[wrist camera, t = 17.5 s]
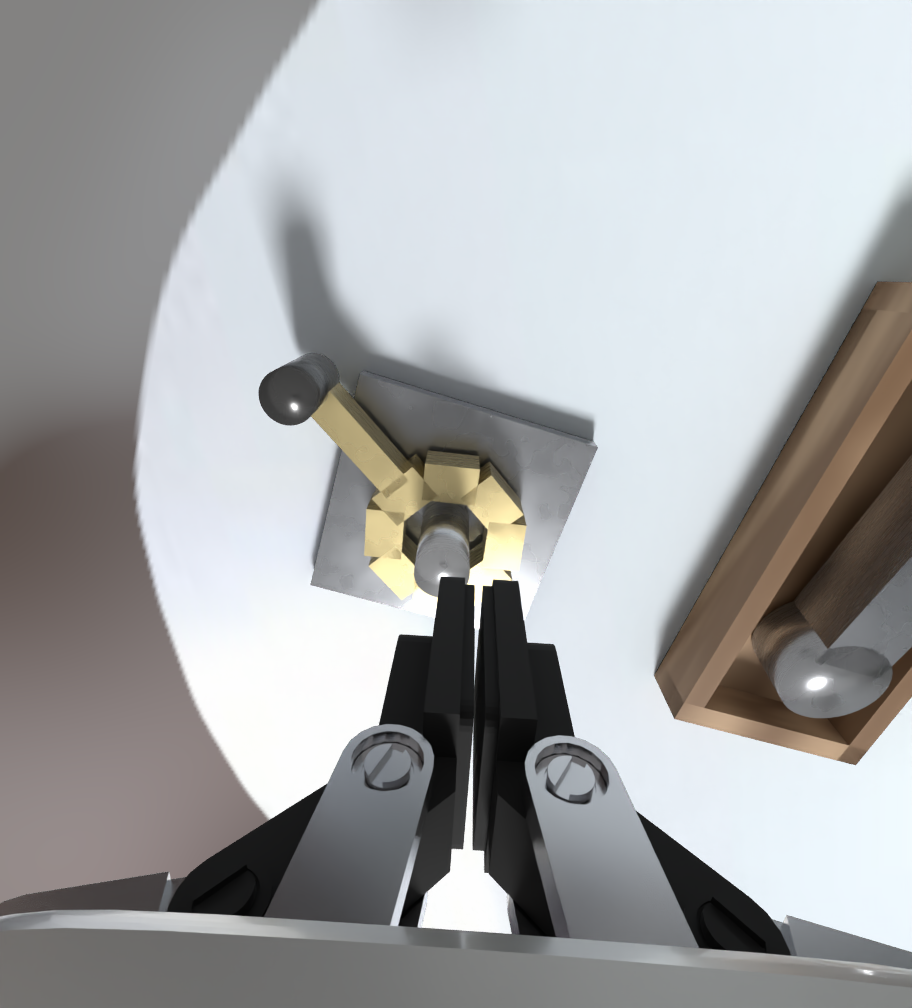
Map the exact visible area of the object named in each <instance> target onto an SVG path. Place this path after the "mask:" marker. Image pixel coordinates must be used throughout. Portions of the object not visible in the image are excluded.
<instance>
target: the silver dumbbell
mask: <svg viewBox="0 0 912 1008" xmlns="http://www.w3.org/2000/svg"><path fill="white" fill-rule="evenodd" d="M752 647H753V650H754V652H755V654H756V656H757V657H758V659H759V661H760V663H761V664H762V666H763V668H764V670H765V672H766V673H767V675H768V677H769V679H770V680H771V682H772V684H773V686H774V687H775V689H776V691H777V693H778V694H779V696H780V698H781V700H782V701H783V703H784V704H785V706H786V707H787V708H788V709H790V710H791V711H793V712H794V713H797V714H799V715H802V716H806V717H811V718H832V717H839V716H843V715H847V714H850V713H853V712H856V711H858V710H860V709H862V708H864V707H866V706H868V705H870V704H871V703H873V702H874V701H875V700H877V699H878V698H879V697H880V696H881V695H882V694H883V693H884V692H885V691H886V689H887V688H888V686H889V684H890V682H891V679H892V674H893V671H892V666H893V665H894V664H895V663H896V662H897V661H898V660H899V659H900V658H901V657H902V656H903V655H904V654H905V653H906V652H907V651H908V650H909V649H910V648H911V647H912V455H911V456H910V457H909V459H908V460H907V461H906V462H905V463H904V465H903V466H902V467H901V468H900V470H899V471H898V472H897V473H896V475H895V476H894V477H893V478H892V480H891V481H890V482H889V483H888V485H887V486H886V487H885V488H884V490H883V491H882V492H881V493H880V494H879V496H878V497H877V498H876V499H875V501H874V502H873V503H872V504H871V506H870V507H869V508H868V509H867V511H866V512H865V513H864V514H863V516H862V517H861V518H860V519H859V521H858V522H857V523H856V524H855V525H854V527H853V528H852V529H851V530H850V532H849V533H848V534H847V535H846V537H845V538H844V539H843V540H842V542H841V543H840V544H839V545H838V547H837V548H836V549H835V550H834V552H833V553H832V554H831V555H830V556H829V558H828V559H827V560H826V561H825V563H824V564H823V565H822V566H821V568H820V569H819V570H818V571H817V573H816V574H815V575H814V576H813V578H812V579H811V580H810V581H809V583H808V584H807V585H806V586H805V587H804V589H803V590H802V591H801V592H800V594H799V595H798V596H797V597H796V599H795V600H794V601H793V602H790V603H787V604H785V605H782V606H780V607H778V608H777V609H775V610H773V611H772V612H770V613H769V614H768V615H766V616H765V617H764V618H763V619H762V620H761V621H760V622H759V624H758V625H757V627H756V628H755V630H754V633H753V636H752Z"/></svg>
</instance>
